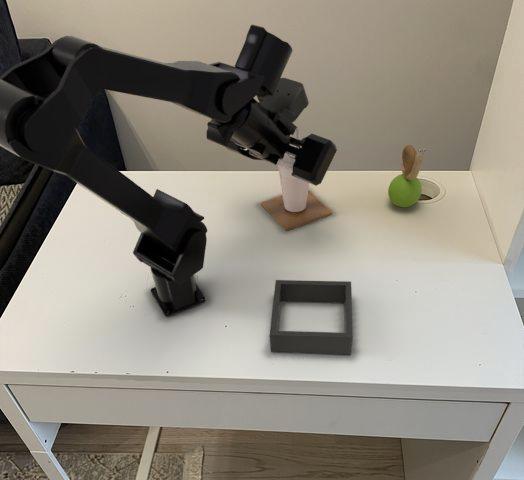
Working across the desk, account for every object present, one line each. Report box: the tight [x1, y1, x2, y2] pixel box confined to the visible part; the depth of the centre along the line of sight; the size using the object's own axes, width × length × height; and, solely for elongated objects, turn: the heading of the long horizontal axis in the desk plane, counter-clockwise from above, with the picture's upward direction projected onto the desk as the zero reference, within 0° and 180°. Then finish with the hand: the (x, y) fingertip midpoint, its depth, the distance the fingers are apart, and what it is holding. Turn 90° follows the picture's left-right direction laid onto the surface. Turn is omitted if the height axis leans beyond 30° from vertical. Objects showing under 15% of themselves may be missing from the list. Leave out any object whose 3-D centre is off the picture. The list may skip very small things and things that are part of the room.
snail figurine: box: [387, 144, 427, 208], centre depth 89 cm, size 5×6×12 cm
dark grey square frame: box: [269, 279, 354, 356], centre depth 75 cm, size 11×11×4 cm
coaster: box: [260, 190, 333, 232], centre depth 94 cm, size 9×9×1 cm
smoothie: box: [277, 126, 311, 212], centre depth 88 cm, size 6×6×14 cm
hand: (300, 164), depth 89 cm, fingers closed on smoothie, 6 cm apart
